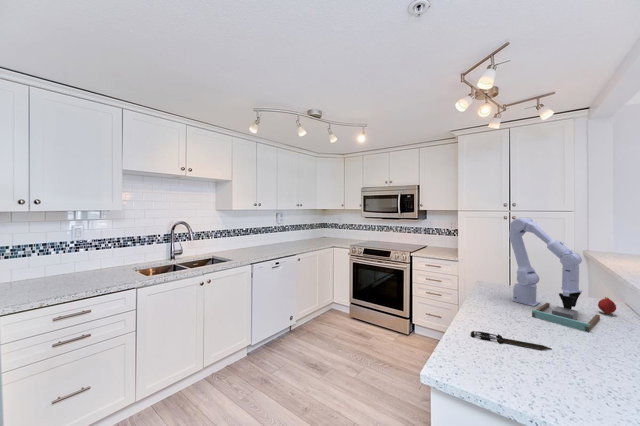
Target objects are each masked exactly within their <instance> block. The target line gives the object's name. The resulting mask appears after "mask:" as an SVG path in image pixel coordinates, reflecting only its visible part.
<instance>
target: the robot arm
mask: <svg viewBox="0 0 640 426" xmlns="http://www.w3.org/2000/svg"><path fill="white" fill-rule="evenodd" d="M509 226H510V229H509V232H508V237H509V239H510V240H509V241H510V243H511V247H512V249H513V254H514V257H515V261H516V264H517V269H516V281H517V283H514V285H513V289H512V292H513V293H512V302H516V303H520V304H523V305H527V306H532V307H535V306H536V305H538V304H540V302H539V301H537V289H538V288H537V287H538V286H537V284H538V283H539V282H540V276H539V274H537V272H536V270H535V268H534V267H532V266H531V261H530V259H529V255H528V252H527V249H526V246H525V242H524V239H523V236H524V235H525V234H526V233H532V234H534V235H535V236H536V237H537V238H538V239H540V240H541V241H542V242H544V243H545V244H546V246H547V247H546V248H547V249H548V250H549V251H550V252H551V253H552V254H553V255H555V256H556V257H557V259H558V258H559V262H560V264H561V265H562V269H561V271H562V273H561V275H562V277H561V287H560V288H561V291H562V293H561V292H559V293H558V296H559V298H560V299H561V302H562V303H561V304H562V305H563V308H567V309H572V308H575V307H576V306H577V302H578V299H579V298H580V295H581V294H582V293H583V290H581V289H580V264H581V263H582V261H583V260H582V257H581V255H580V254H578V252H574V251H573V250H572V249H570V248H568V247H567V246H566V245H564V244H565V243H564V242H563V241H560V240H558V239H553V238H552V237H551V236H550V235H549V234H548V233H547V232H546V231H545V230H544V229H543V228H542V227H541V226H539V224H538V223H537V222H536V221H534V220H533V219H532V218H529V217H524V218H523V217H522V218H521V217H519V218H518V217H517V218H514V219H513V220H512V221H511V222H510V223H509ZM572 310H573V309H572Z"/></svg>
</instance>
